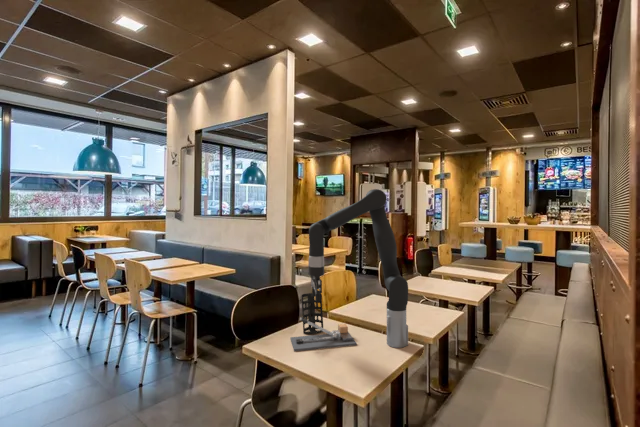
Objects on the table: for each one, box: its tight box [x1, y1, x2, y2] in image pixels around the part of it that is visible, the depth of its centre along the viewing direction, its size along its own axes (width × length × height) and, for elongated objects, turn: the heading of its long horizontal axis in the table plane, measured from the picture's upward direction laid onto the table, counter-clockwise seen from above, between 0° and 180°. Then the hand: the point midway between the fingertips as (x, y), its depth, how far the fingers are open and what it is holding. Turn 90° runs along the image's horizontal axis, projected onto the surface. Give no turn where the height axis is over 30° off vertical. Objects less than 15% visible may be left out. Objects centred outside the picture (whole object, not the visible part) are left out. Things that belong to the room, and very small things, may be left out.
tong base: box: [296, 329, 354, 344], centre depth 167 cm, size 27×11×3 cm, turn 102°
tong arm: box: [299, 316, 334, 335], centre depth 165 cm, size 19×3×1 cm, turn 103°
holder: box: [301, 292, 324, 335], centre depth 179 cm, size 11×8×20 cm
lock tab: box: [337, 323, 349, 333], centre depth 172 cm, size 4×4×3 cm
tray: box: [290, 333, 358, 352], centre depth 166 cm, size 30×14×1 cm, turn 102°
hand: (316, 298), depth 162 cm, fingers open, 8 cm apart
